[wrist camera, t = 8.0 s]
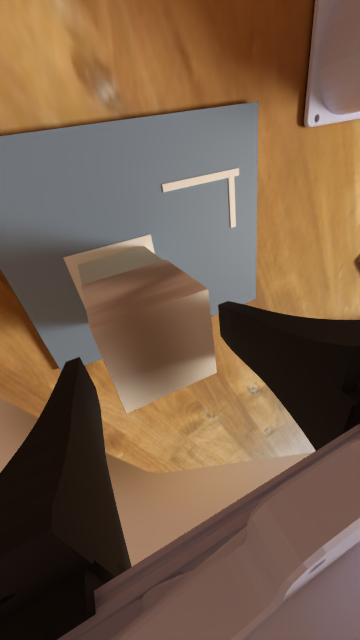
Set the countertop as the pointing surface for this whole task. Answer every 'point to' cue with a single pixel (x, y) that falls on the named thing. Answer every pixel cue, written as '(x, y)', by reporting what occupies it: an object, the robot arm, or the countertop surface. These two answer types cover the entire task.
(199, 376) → the cream block
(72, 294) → the board
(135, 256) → the sage block
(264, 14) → the countertop surface
